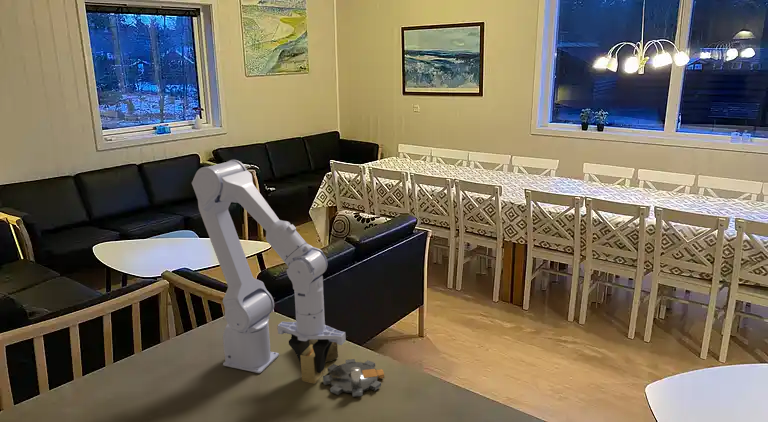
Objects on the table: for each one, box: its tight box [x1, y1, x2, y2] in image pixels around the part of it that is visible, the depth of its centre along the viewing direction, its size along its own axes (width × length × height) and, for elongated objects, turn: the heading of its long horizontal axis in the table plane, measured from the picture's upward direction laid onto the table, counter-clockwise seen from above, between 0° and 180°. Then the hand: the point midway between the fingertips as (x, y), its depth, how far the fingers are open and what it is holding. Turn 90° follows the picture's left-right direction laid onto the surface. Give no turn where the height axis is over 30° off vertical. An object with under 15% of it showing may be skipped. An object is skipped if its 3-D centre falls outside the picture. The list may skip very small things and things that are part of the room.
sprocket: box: [322, 358, 385, 398], centre depth 111 cm, size 12×12×4 cm
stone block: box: [309, 339, 339, 363], centre depth 123 cm, size 6×12×5 cm, turn 29°
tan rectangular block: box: [300, 345, 326, 385], centre depth 113 cm, size 3×4×6 cm, turn 160°
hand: (313, 368), depth 113 cm, fingers closed on tan rectangular block, 3 cm apart
